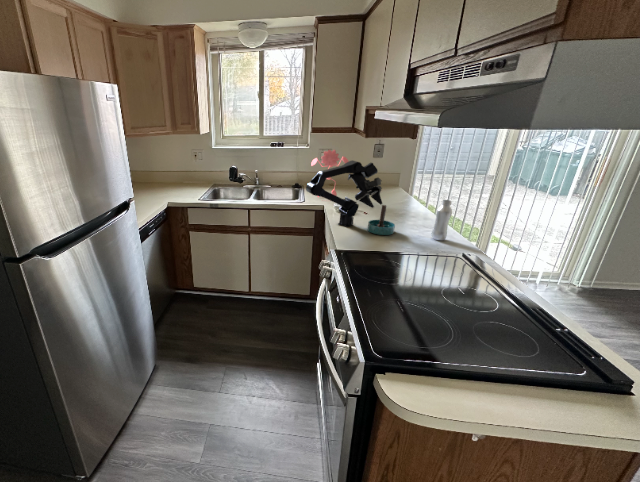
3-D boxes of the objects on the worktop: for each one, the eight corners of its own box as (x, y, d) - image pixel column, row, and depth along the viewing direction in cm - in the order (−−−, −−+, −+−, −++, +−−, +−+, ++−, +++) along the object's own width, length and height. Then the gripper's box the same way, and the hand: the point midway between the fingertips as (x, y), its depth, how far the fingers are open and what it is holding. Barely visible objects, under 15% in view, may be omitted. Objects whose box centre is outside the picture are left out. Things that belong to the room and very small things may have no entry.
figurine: (309, 195, 243) (312, 148, 231) (344, 197, 238) (349, 148, 225) (308, 200, 230) (311, 150, 217) (345, 202, 224) (351, 151, 211)
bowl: (363, 232, 170) (364, 224, 169) (372, 225, 179) (373, 218, 178) (388, 237, 162) (390, 229, 161) (396, 230, 171) (398, 223, 170)
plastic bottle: (440, 242, 156) (450, 203, 148) (427, 238, 161) (436, 200, 154) (448, 240, 158) (458, 201, 151) (435, 236, 164) (444, 198, 157)
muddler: (375, 230, 171) (379, 205, 165) (377, 228, 173) (381, 204, 168) (382, 232, 168) (386, 206, 163) (384, 230, 171) (388, 205, 166)
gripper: (363, 175, 160) (381, 200, 157) (381, 170, 172) (398, 194, 168) (347, 188, 169) (364, 212, 165) (365, 182, 180) (381, 205, 176)
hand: (377, 205), depth 168 cm, fingers open, 9 cm apart
